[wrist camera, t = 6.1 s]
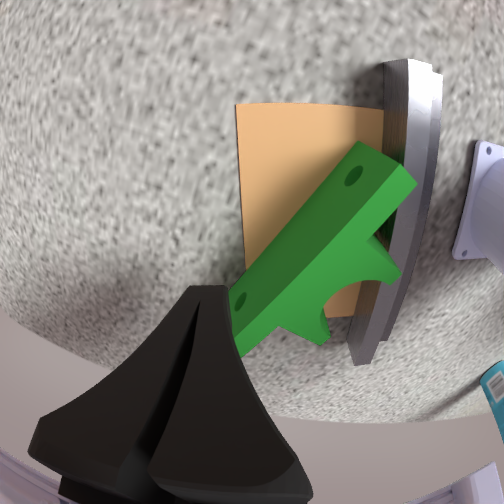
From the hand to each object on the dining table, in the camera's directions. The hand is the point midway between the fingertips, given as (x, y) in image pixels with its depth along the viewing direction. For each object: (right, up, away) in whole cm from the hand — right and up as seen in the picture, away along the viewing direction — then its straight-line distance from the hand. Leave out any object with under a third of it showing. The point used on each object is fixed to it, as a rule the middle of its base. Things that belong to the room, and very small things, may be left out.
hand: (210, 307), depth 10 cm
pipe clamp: (+5, +3, +5) cm, 7 cm away
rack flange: (+6, +3, +5) cm, 8 cm away
